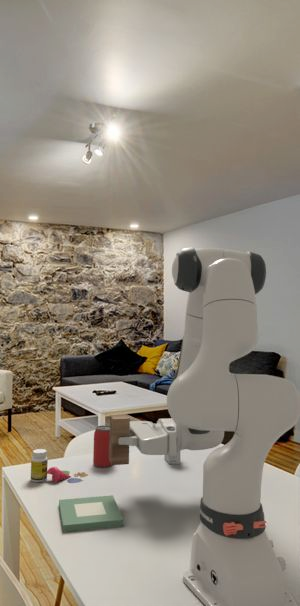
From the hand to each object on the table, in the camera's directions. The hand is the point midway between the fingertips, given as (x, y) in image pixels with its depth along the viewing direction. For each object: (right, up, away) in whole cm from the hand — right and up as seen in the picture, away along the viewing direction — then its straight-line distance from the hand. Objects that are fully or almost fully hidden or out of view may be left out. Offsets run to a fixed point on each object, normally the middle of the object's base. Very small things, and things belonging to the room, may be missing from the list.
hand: (116, 437), depth 122 cm
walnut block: (+1, -7, 0) cm, 7 cm away
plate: (-6, -16, -9) cm, 20 cm away
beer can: (-6, -17, +27) cm, 32 cm away
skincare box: (+16, -18, +32) cm, 40 cm away
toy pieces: (-15, -17, +15) cm, 27 cm away
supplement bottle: (-24, -16, +13) cm, 32 cm away
